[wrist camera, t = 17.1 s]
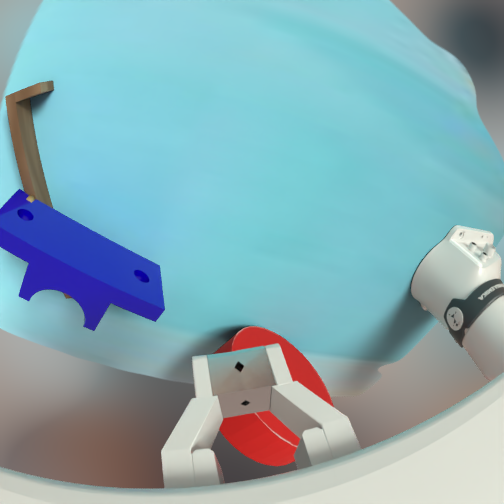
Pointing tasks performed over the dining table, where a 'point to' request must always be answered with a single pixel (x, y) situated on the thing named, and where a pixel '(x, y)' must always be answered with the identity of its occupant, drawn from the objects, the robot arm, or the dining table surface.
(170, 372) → the dining table surface
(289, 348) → the red hockey puck
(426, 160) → the dining table surface
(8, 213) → the mounting bracket
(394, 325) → the dining table surface
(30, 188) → the handle
